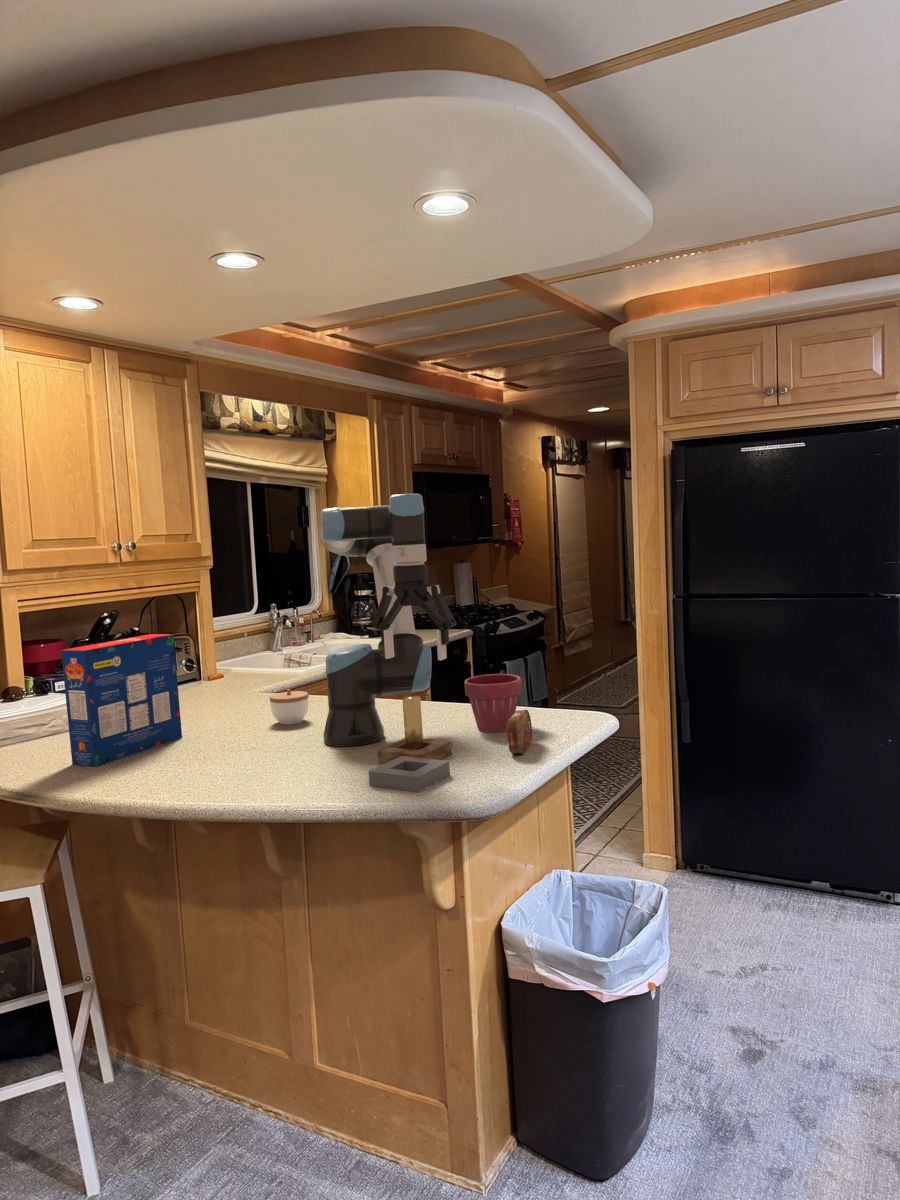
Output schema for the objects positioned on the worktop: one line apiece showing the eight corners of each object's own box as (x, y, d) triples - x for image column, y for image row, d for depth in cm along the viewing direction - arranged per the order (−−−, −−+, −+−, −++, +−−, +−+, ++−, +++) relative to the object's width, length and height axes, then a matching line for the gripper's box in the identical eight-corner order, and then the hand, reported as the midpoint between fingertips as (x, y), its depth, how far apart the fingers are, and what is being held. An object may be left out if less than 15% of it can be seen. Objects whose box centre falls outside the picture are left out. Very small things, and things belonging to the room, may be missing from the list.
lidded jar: (318, 719, 234) (315, 686, 233) (291, 728, 225) (289, 693, 224) (290, 716, 240) (287, 684, 239) (263, 725, 231) (260, 691, 230)
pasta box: (160, 736, 224) (150, 634, 222) (182, 737, 221) (173, 634, 219) (72, 764, 199) (61, 650, 197) (95, 767, 196) (84, 650, 194)
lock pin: (403, 760, 186) (399, 699, 185) (412, 755, 189) (408, 695, 188) (417, 761, 184) (413, 699, 183) (427, 757, 187) (423, 696, 186)
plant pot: (461, 735, 206) (458, 684, 205) (473, 721, 220) (470, 674, 218) (518, 735, 202) (515, 683, 201) (527, 721, 216) (524, 673, 215)
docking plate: (369, 785, 169) (368, 771, 168) (402, 769, 179) (401, 755, 179) (418, 792, 162) (417, 777, 162) (450, 775, 173) (449, 760, 172)
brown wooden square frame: (378, 763, 185) (377, 750, 184) (408, 749, 195) (407, 737, 195) (423, 768, 178) (422, 755, 178) (451, 754, 189) (450, 741, 188)
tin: (520, 758, 182) (518, 721, 181) (506, 758, 183) (504, 720, 182) (533, 741, 196) (531, 706, 196) (520, 740, 197) (518, 706, 197)
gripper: (353, 566, 186) (359, 659, 188) (451, 563, 174) (457, 663, 176) (371, 564, 193) (377, 654, 195) (467, 561, 181) (473, 657, 183)
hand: (415, 658), depth 185 cm, fingers open, 13 cm apart
